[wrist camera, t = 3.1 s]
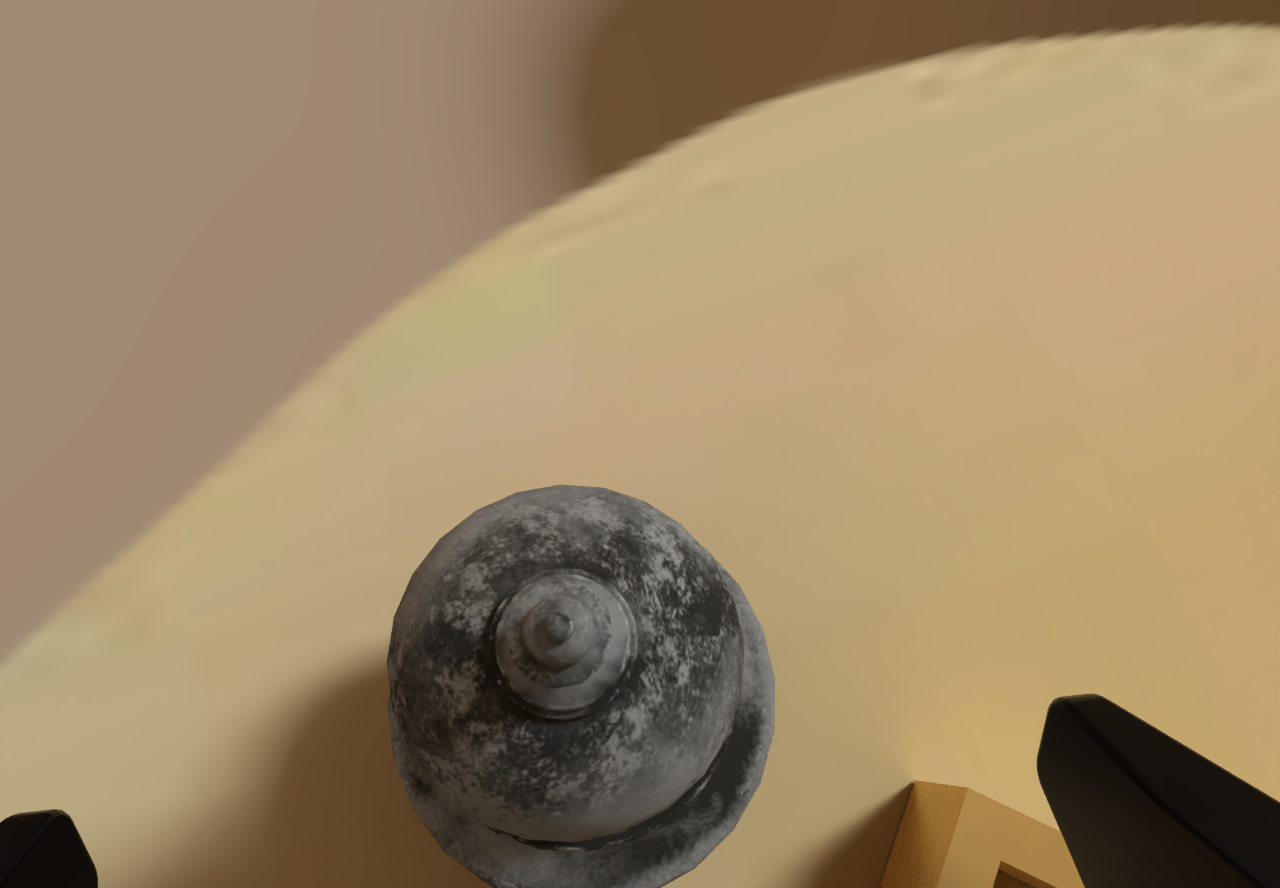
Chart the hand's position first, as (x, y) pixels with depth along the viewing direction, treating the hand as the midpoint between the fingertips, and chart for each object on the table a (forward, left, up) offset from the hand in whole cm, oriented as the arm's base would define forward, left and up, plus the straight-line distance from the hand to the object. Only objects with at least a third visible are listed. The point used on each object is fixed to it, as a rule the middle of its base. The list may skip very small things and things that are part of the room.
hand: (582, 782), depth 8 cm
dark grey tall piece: (+1, +1, -9) cm, 9 cm away
